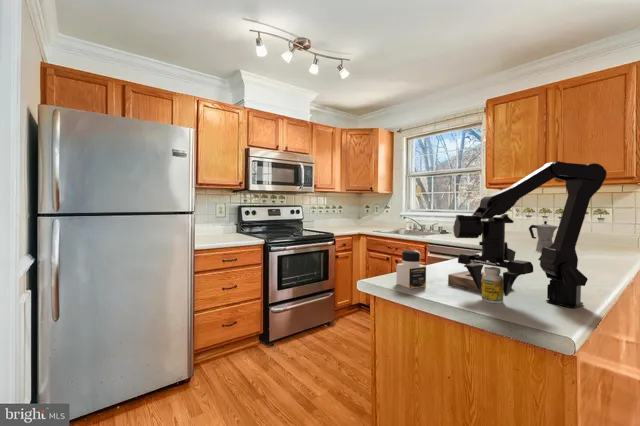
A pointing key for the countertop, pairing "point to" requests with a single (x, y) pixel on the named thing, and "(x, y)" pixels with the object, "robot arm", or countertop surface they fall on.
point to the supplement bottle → (492, 285)
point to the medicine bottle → (411, 270)
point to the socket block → (464, 281)
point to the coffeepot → (543, 235)
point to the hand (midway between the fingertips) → (492, 292)
